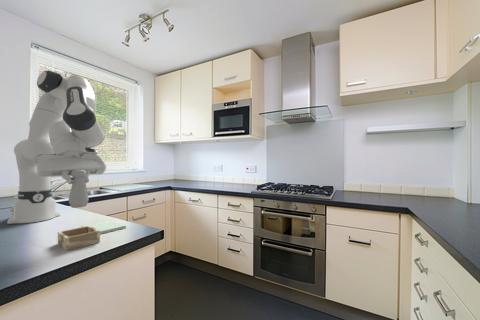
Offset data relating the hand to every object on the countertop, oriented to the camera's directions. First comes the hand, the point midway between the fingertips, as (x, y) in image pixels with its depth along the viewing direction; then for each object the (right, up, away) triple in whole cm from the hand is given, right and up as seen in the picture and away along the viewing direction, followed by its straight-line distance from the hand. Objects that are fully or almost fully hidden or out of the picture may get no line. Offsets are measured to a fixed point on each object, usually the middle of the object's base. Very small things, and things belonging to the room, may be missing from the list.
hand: (79, 182), depth 77 cm
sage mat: (-1, -21, +16) cm, 26 cm away
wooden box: (0, -21, 0) cm, 21 cm away
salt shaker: (0, -9, 0) cm, 9 cm away
